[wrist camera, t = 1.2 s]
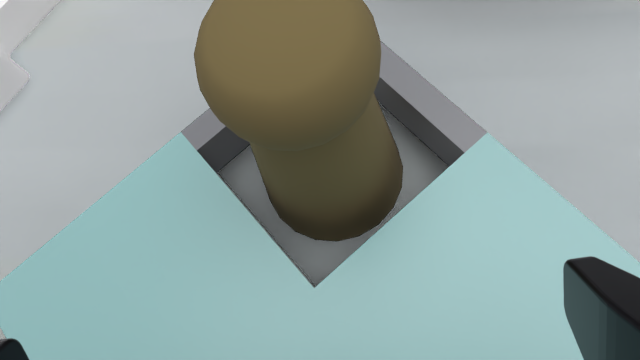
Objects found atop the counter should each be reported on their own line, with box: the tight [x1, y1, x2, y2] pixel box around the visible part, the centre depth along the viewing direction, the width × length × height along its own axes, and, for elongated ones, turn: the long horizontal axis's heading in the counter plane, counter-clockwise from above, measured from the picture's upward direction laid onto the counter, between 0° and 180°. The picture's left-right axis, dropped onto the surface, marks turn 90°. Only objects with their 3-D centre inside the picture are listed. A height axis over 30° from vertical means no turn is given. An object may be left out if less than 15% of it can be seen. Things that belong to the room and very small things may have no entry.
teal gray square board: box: [0, 41, 640, 360], centre depth 21 cm, size 19×19×2 cm
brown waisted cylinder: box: [194, 0, 403, 241], centre depth 19 cm, size 6×6×11 cm
